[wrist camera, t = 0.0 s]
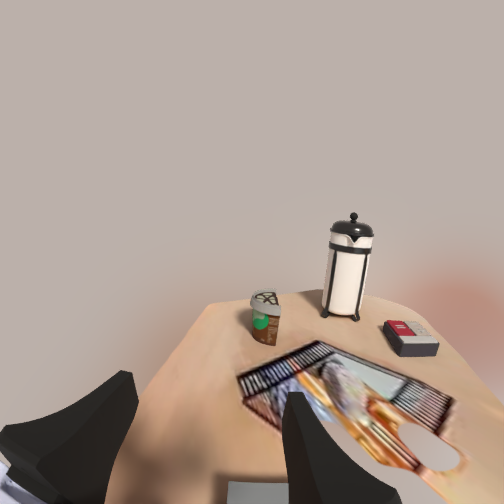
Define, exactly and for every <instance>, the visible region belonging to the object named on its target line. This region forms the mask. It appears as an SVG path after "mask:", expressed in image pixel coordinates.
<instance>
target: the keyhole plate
mask: <svg viewBox="0 0 504 504" xmlns="http://www.w3.org/2000/svg"><path fill="white" fill-rule="evenodd" d="M227 504H289V489H288V483H249V482H234V481H229V485H228V495H227Z"/></svg>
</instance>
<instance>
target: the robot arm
mask: <svg viewBox="0 0 504 504" xmlns="http://www.w3.org/2000/svg"><path fill="white" fill-rule="evenodd" d="M138 403H139V400H138V396H137V392H136V388H135V383H134V379H133V374H132V373H131V372H127V371H122V370H120V371H119V372H118V373H116V374H115V375H114V376H112V377H111V378H110V379H108V380H107V381H106V382H104V383H103V384H102V385H101V386H99V387H98V388H96V389H95V390H94V391H92V392H91V393H90V394H88V395H87V396H85V397H83V398H82V399H80V400H79V401H77V402H76V403H74V404H72V405H70V406H68V407H66V408H64V409H63V410H60V411H58V412H56V413H53V414H51V415H48V416H46V417H43V418H40V419H36V420H33V421H29V422H24V423H19V424H12V425H6V426H5V427H4V428H3V429H2V431H1V432H0V451H1V453H2V454H3V455H4V457H5V458H6V459H7V460H8V461H9V462H10V463H11V467H10V468H9V467H8V466H7V465H5V464H4V463H3V462H2V461H0V504H104V502H105V497H106V492H107V487H108V483H109V479H110V475H111V471H112V468H113V465H114V461H115V458H116V456H117V453H118V451H119V449H120V447H121V444H122V442H123V440H124V438H125V436H126V434H127V432H128V430H129V428H130V426H131V423H132V421H133V419H134V416H135V413H136V410H137V407H138ZM282 440H283V447H284V454H285V461H286V468H287V475H288V489H289V504H402V502H401V499H400V496H399V494H398V492H397V490H396V489H395V488H393V487H391V486H389V485H387V484H385V483H384V482H382V481H380V480H378V479H377V478H375V477H374V476H372V475H371V474H369V473H368V472H367V471H365V470H364V469H363V468H362V467H360V466H359V465H358V464H357V463H355V462H354V461H353V460H352V459H351V458H350V457H349V456H348V455H347V454H346V453H345V452H344V451H343V450H342V449H341V448H340V447H339V446H338V445H337V444H336V442H335V441H334V440H333V439H332V438H331V436H330V435H329V434H328V433H327V431H326V430H325V428H324V427H323V425H322V424H321V422H320V421H319V420H318V418H317V416H316V415H315V413H314V412H313V410H312V408H311V406H310V405H309V403H308V401H307V399H306V397H305V395H304V393H303V392H288V396H287V401H286V405H285V409H284V413H283V417H282Z"/></svg>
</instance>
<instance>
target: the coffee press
mask: <svg viewBox="0 0 504 504" xmlns="http://www.w3.org/2000/svg"><path fill="white" fill-rule="evenodd" d="M350 218H351V219H352V220H351V221H337V222H335V223H334V224H333V226H332V228H330V231H331V239H330V241H329V255H328V264H327V270H326V277H325V284H324V291H323V297H322V306H323V307H324V310H323V312H322V314H321V316H322V317H324V318H327V317H328V316H329V314H330V313H334V314H339V315H350V316H351V317H352V318H353V320H354V321H355V322H356V321H359V320H360V316H359V313H358V311H359V310H360V307H361V303H362V298H363V293H364V287H365V282H366V276H367V270H368V264H369V258H370V253H371V249H372V247H371V243H372V238H373V237H374V234H373V231H372V228H371V227H370V226H369V225H367V224H364V223H359V222H356V219H357V218H358V215H357V214H356V213H351V215H350ZM353 314H356V317H357V319H356V317H355V315H353Z"/></svg>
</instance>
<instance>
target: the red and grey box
mask: <svg viewBox="0 0 504 504" xmlns="http://www.w3.org/2000/svg"><path fill="white" fill-rule="evenodd" d="M383 332H384V334H385V335H386V337H387V338H388V340H389V341H390V343H391V344H392V345H393V347H394V350H395V351H396V353H397V354H398V356H399V357H426V356H436V353H437V350H438V347H439V343H438V341H437V340H436V339H435V338H434V337H433V336H431V334H430V333H429V332H428V331H427V330H426V329H425V328H423V326H422V325H420V324H419V323H418V322H416V321H404V322H402V321H392V320H387V322H384V326H383Z"/></svg>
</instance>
